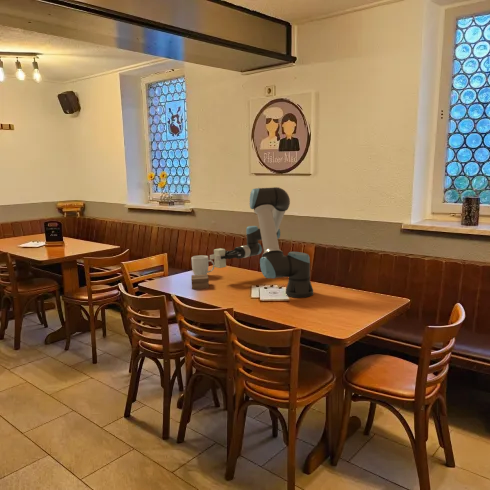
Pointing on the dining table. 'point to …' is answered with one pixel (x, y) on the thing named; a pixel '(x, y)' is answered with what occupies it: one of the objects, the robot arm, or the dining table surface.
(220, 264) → the sage block
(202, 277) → the walnut base
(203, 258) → the mug
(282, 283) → the dining table surface
